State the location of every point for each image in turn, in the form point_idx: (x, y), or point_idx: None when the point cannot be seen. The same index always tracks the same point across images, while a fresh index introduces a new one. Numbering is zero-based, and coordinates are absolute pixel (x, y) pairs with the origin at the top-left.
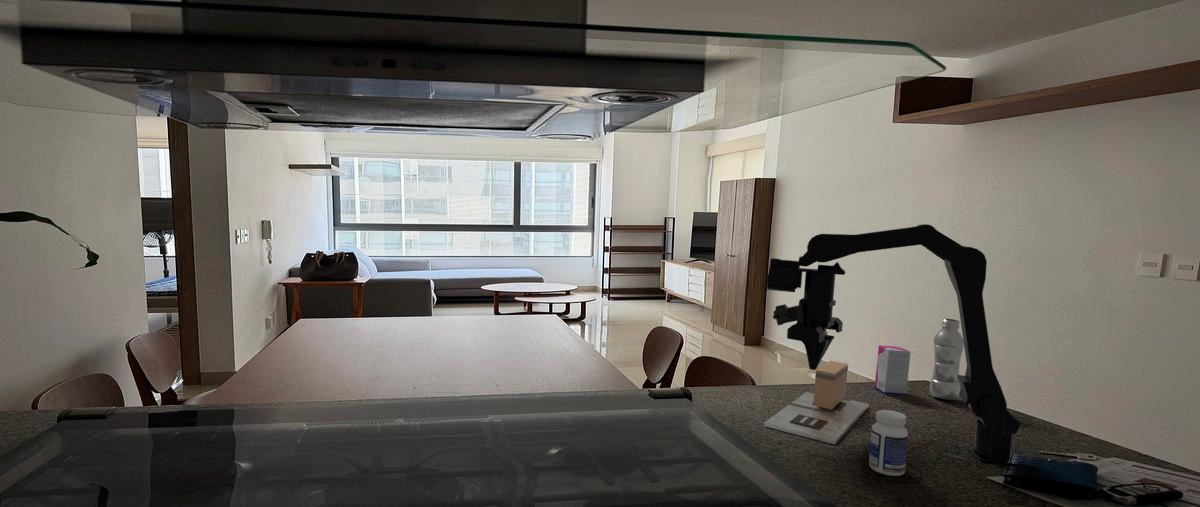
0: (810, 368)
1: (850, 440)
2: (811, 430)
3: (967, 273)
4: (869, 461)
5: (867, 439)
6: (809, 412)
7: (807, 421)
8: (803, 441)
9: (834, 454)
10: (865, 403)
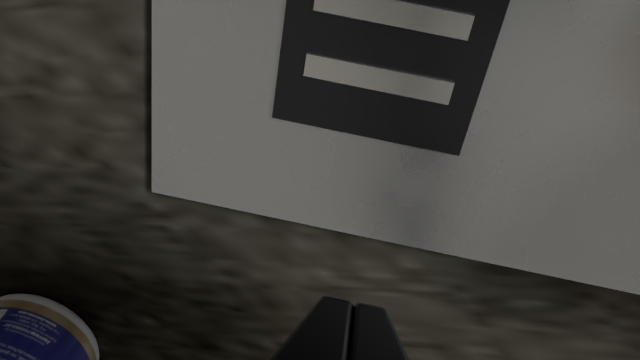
0: (319, 305)
1: (279, 242)
2: (227, 71)
3: None
4: (2, 304)
5: None
6: (632, 28)
7: (374, 36)
8: (87, 30)
9: (37, 178)
10: None
